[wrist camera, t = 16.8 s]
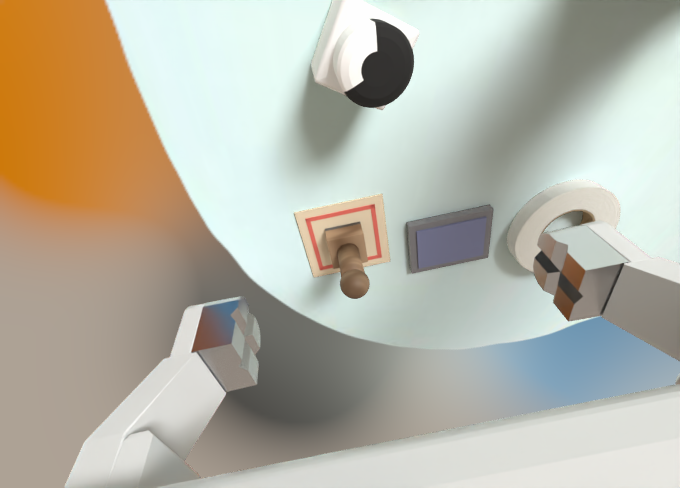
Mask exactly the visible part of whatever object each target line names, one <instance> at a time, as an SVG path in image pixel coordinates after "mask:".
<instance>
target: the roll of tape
mask: <svg viewBox="0 0 680 488" xmlns="http://www.w3.org/2000/svg"><path fill="white" fill-rule="evenodd" d="M572 211H582V212H583V218H582V221H581V223H580V225H581V224H585V223H590V222H594V221H599V220H601V221H604V222H607V223H608V224H610V225H611V226H612V227H613V228H615V229H616V227H617V225H618V222H619V219H620V204H619V201H618V199H617V198H616V196H615V195H614V194H613V193H611V192H610V191H608V190H607V189H605V188H604V187H602V186H601V185H599V184H598V183H596V182H593V181H590V180H583V179H578V180H570V181H565V182H562V183H559V184H556V185H554V186H551V187H549V188H547V189H545V190H544V191H542V192H540V193H539V194H537V195H536V196H534V197H533V198H532V199H531V200H529V201H528V202H527V203H526V204H525V205H524V206H523V207H522V208H521V210H520V211H519V212H518V213H517V215H516V216H515V218H514V219H513V221H512V223H511V225H510V227H509V230H508V234H507V246H508V249H509V251H510V253H511V254H512V255H513V256H514V258H515V259H516V260H517V261H518V262H519V264H520V265H521V266H522V267H524V268H525V269H527V270H528V271H531V272H533V273H534V270H533V264H534V258H535V257H536V255H537V254H538V253H539V252H540V251H541V249H540V248H539V247H538V246H537V243H538V239H539V237H540V235H541V234H542V233H543V232H544V230H545V229H546V227H547V226H548V225H549V224H550V223H551V222H552V221H554V220H555V219H556V218H558V217H560V216H562V215H564V214H566V213H569V212H572Z"/></svg>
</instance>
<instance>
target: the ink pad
mask: <svg viewBox="0 0 680 488" xmlns="http://www.w3.org/2000/svg"><path fill="white" fill-rule="evenodd" d="M492 217H493V208H492V207H491V206H490V205H486V206H481V207H477V208H472V209H467V210H463V211H458V212H453V213H448V214H444V215H439V216H434V217H430V218H425V219H420V220H415V221H411V222H407V235H408V248H409V262H410V270H411V272H412V273H416V272H421V271H426V270H431V269H436V268H440V267H445V266H450V265H455V264H459V263H464V262H469V261H474V260H479V259H483V258H488V254H489V245H490V235H491V226H492Z"/></svg>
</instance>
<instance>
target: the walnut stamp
mask: <svg viewBox="0 0 680 488" xmlns="http://www.w3.org/2000/svg"><path fill="white" fill-rule="evenodd" d="M325 233H326V240H327V245H328V249H329V253H330V257H331V261H332V265H333V269H336V268H340V273H341V281H340V287H341V290H342V292H343V293H344V294H345V295H346V296H347V297H349V298H353V299H357V298H361V297H362V296H364V295H365V294H366V293H367V291H368V289H369V279H368V277H367V275H366V274H365V272H364V268H363V264H362V263H365V262H368V257H367V251H366V245H365V239H364V234H363V230H362V227H361V223H360V221H359V222H355V223H350V224H345V225H340V226H336V227H331V228H326V229H325Z"/></svg>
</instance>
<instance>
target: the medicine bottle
mask: <svg viewBox="0 0 680 488" xmlns="http://www.w3.org/2000/svg"><path fill="white" fill-rule="evenodd" d="M418 37H419V31H418V30H417V29H415V28H414V27H412V26H410V25H408V24H406V23H404V22H402V21H400V20H398V19H396V18H395V17H393V16H391V15H389V14H387V13H385V12H383V11H381V10H379V9H377V8H376V7H374V6H372V5H370V4H368V3H366V2H364V1H362V0H332V3H331V6H330V9H329V12H328V15H327V18H326V21H325V24H324V27H323V30H322V33H321V35H320V38H319V41H318V44H317V47H316V50H315V53H314V56H313V59H312V62H311V67H312V72H313V76H314V80H315V82H316V83H318V84H320V85H322V86H325V87H327V88H330V89H332V90H334V91H337V92H339V93H341V94H344V95H346V96H347V97H348V98H349V99H350V100H352V101H353V102H354V103H356V104H358V105H360V106H363V107H369V108H377V109H379V110H383V109H384V108H385V106H386V105H387V104H389V103H391V102H392V101H394V100H395V99H397V98H398V97H399V96H400V95H401V94H402V93H403V91H404V90H405V89H406V87H407V85H408V83H409V81H410V79H411V76H412V73H413V67H414V55H413V50H412V49H413V47H414V45H415V43H416V41H417V39H418Z"/></svg>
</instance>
